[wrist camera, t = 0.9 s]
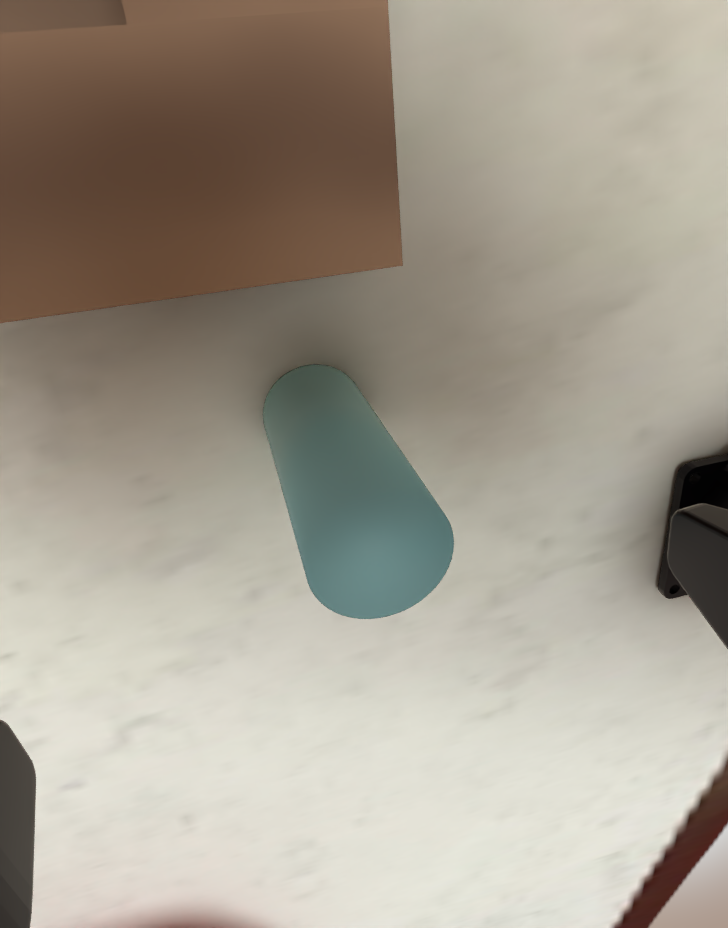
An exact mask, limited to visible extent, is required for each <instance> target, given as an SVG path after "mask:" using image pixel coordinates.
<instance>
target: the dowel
mask: <svg viewBox="0 0 728 928" xmlns="http://www.w3.org/2000/svg"><path fill="white" fill-rule="evenodd" d="M263 421H264V426H265V430H266V433H267V437H268V440H269V444H270V448H271V451H272V455H273V458H274V462H275V466H276V469H277V473H278V476H279V480H280V484H281V487H282V491H283V495H284V498H285V502H286V505H287V509H288V513H289V516H290V520H291V523H292V527H293V531H294V534H295V538H296V541H297V545H298V549H299V552H300V556H301V559H302V563H303V567H304V570H305V574H306V577H307V581H308V584H309V586H310V588H311V591H312V592H313V594H314V595H315V597H316V598H317V599H318V600H319V601H320V602H321V603H322V604H323V605H324V606H326V607H327V608H328V609H330V610H332V611H334V612H336V613H338V614H341V615H343V616H347V617H351V618H358V619H373V618H381V617H386V616H390V615H393V614H396V613H399V612H401V611H404V610H406V609H408V608H410V607H412V606H413V605H415V604H416V603H418V602H420V601H421V600H422V599H423V598H425V597H426V596H427V595H428V594H429V593H430V592H431V591H432V590H433V589H434V588H435V587H436V586H437V585H438V584H439V582H440V581H441V580H442V578H443V576H444V575H445V573H446V571H447V569H448V567H449V565H450V562H451V559H452V554H453V547H454V539H453V532H452V528H451V525H450V523H449V521H448V519H447V517H446V516H445V514H444V513H443V511H442V510H441V508H440V507H439V505H438V504H437V502H436V501H435V499H434V498H433V497H432V495H431V494H430V492H429V491H428V489H427V488H426V486H425V485H424V483H423V482H422V481H421V479H420V478H419V476H418V475H417V473H416V472H415V470H414V469H413V467H412V466H411V465H410V463H409V462H408V460H407V459H406V457H405V456H404V454H403V453H402V451H401V450H400V449H399V447H398V446H397V444H396V443H395V441H394V440H393V438H392V437H391V435H390V434H389V433H388V431H387V430H386V428H385V427H384V425H383V424H382V422H381V421H380V420H379V418H378V417H377V415H376V414H375V412H374V411H373V409H372V408H371V406H370V405H369V404H368V402H367V401H366V399H365V398H364V396H363V395H362V393H361V392H360V390H359V389H358V388H357V386H356V385H355V383H354V382H353V381H352V380H351V378H350V377H348V376H347V375H346V374H345V373H343V372H341V371H340V370H338V369H336V368H333V367H330V366H325V365H307V366H302V367H299V368H296V369H294V370H292V371H290V372H288V373H287V374H285V375H284V376H282V377H281V378H280V379H279V380H278V381H277V382H276V383H275V384H274V385H273V387H272V388H271V390H270V391H269V393H268V395H267V397H266V400H265V403H264V408H263Z"/></svg>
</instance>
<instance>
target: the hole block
mask: <svg viewBox="0 0 728 928" xmlns="http://www.w3.org/2000/svg"><path fill="white" fill-rule="evenodd" d="M402 265H403V263H402V245H401V228H400V210H399V192H398V175H397V157H396V140H395V122H394V104H393V87H392V69H391V52H390V34H389V16H388V0H0V323H4V322H11V321H18V320H25V319H32V318H39V317H46V316H53V315H60V314H67V313H74V312H81V311H88V310H95V309H102V308H109V307H116V306H123V305H130V304H137V303H144V302H151V301H158V300H165V299H172V298H179V297H186V296H193V295H200V294H207V293H214V292H221V291H228V290H235V289H242V288H249V287H256V286H263V285H270V284H277V283H284V282H291V281H298V280H305V279H312V278H319V277H326V276H333V275H340V274H347V273H354V272H361V271H368V270H375V269H382V268H389V267H396V266H402Z"/></svg>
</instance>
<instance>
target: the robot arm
mask: <svg viewBox="0 0 728 928" xmlns="http://www.w3.org/2000/svg"><path fill="white" fill-rule="evenodd" d="M692 474H693V475H692ZM691 475H692V476H691ZM690 476H691V477H690ZM658 590H659V591H660V592H661V593H662V594H663V595H664V596H665V597H666V598H668V599H672V598H676V597H680V596H684V595H689V597H690V598H691V600H692V601H693V602H694V604H695V605H696V606H697V608H698V609H699V610H700V612H701V613H702V615H703V616H704V617H705V619H706V620H707V621H708V623H709V624H710V625H711V627H712V628H713V630H714V631H715V632H716V634H717V635H718V636H719V638H720V639H721V641H722V642H723V643H724V645H725V646H726V647H727V649H728V454H725V455H721V456H716V457H712V458H707V459H702V460H698V461H693V462H689V463H687V464H685V465H684V466H682V467H681V469H680V470H679V471H678V474H677V478H676V484H675V490H674V496H673V501H672V507H671V513H670V519H669V525H668V531H667V537H666V543H665V549H664V555H663V560H662V566H661V572H660V578H659V584H658ZM35 799H36V774H35V769H34V765H33V763H32V760H31V759H30V757H29V755H28V754H27V752H26V751H25V749H24V748H23V746H22V745H21V743H20V742H19V740H18V739H17V737H16V736H15V734H14V733H13V731H12V730H11V728H10V727H9V725H8V724H7V723H6V722H4V721H2V720H0V928H30V922H31V913H32V896H33V868H34V834H35Z"/></svg>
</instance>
